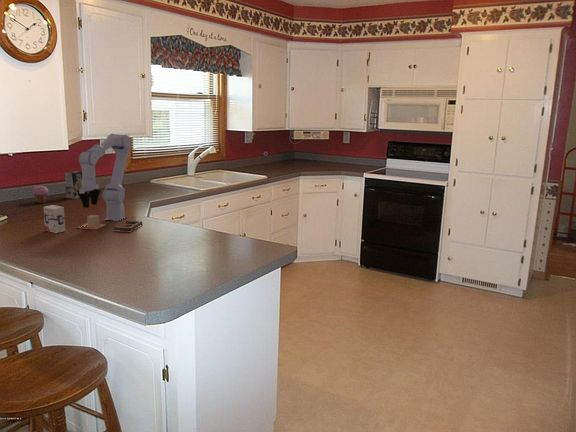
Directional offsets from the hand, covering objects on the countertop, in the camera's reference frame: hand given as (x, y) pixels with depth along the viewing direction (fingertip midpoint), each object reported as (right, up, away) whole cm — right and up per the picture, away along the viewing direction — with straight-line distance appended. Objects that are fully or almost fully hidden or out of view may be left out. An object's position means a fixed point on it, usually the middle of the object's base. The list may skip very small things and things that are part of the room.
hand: (90, 206), depth 226 cm
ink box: (-13, -12, -9) cm, 20 cm away
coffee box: (-40, +7, +72) cm, 83 cm away
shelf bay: (+16, -11, +3) cm, 20 cm away
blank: (+1, -10, +2) cm, 10 cm away
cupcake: (-51, +3, +53) cm, 74 cm away
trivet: (0, -10, +2) cm, 10 cm away
